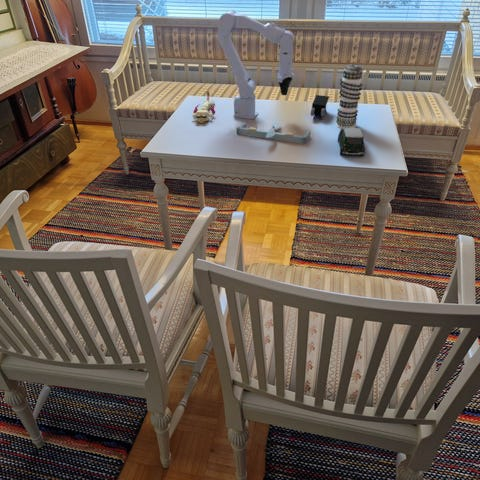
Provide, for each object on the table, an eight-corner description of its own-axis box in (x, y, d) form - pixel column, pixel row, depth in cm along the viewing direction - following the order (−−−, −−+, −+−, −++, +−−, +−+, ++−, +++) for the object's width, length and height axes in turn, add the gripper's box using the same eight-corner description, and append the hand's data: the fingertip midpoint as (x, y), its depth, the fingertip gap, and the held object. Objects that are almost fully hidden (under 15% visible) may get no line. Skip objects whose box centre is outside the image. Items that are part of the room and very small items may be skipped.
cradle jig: (236, 133, 180) (236, 126, 178) (243, 127, 185) (243, 120, 183) (304, 144, 170) (305, 136, 168) (310, 136, 175) (310, 129, 174)
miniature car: (359, 139, 173) (362, 120, 168) (364, 158, 158) (368, 138, 154) (337, 139, 174) (339, 120, 169) (340, 158, 159) (343, 137, 155)
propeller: (260, 145, 167) (260, 135, 165) (274, 126, 187) (275, 117, 185) (270, 146, 166) (271, 136, 164) (284, 127, 186) (284, 118, 184)
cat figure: (199, 108, 210) (190, 123, 189) (198, 90, 206) (188, 103, 184) (219, 108, 210) (212, 123, 188) (218, 90, 205) (211, 103, 184)
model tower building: (331, 123, 188) (337, 64, 173) (349, 120, 190) (357, 62, 175) (341, 130, 181) (349, 69, 166) (360, 127, 183) (369, 67, 168)
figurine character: (324, 124, 190) (328, 110, 201) (325, 108, 185) (330, 94, 196) (309, 123, 192) (314, 108, 202) (310, 107, 187) (315, 93, 197)
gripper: (289, 67, 173) (287, 100, 181) (299, 59, 184) (297, 91, 192) (272, 66, 176) (272, 98, 184) (284, 58, 186) (283, 89, 194)
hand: (284, 94), depth 188 cm, fingers closed
